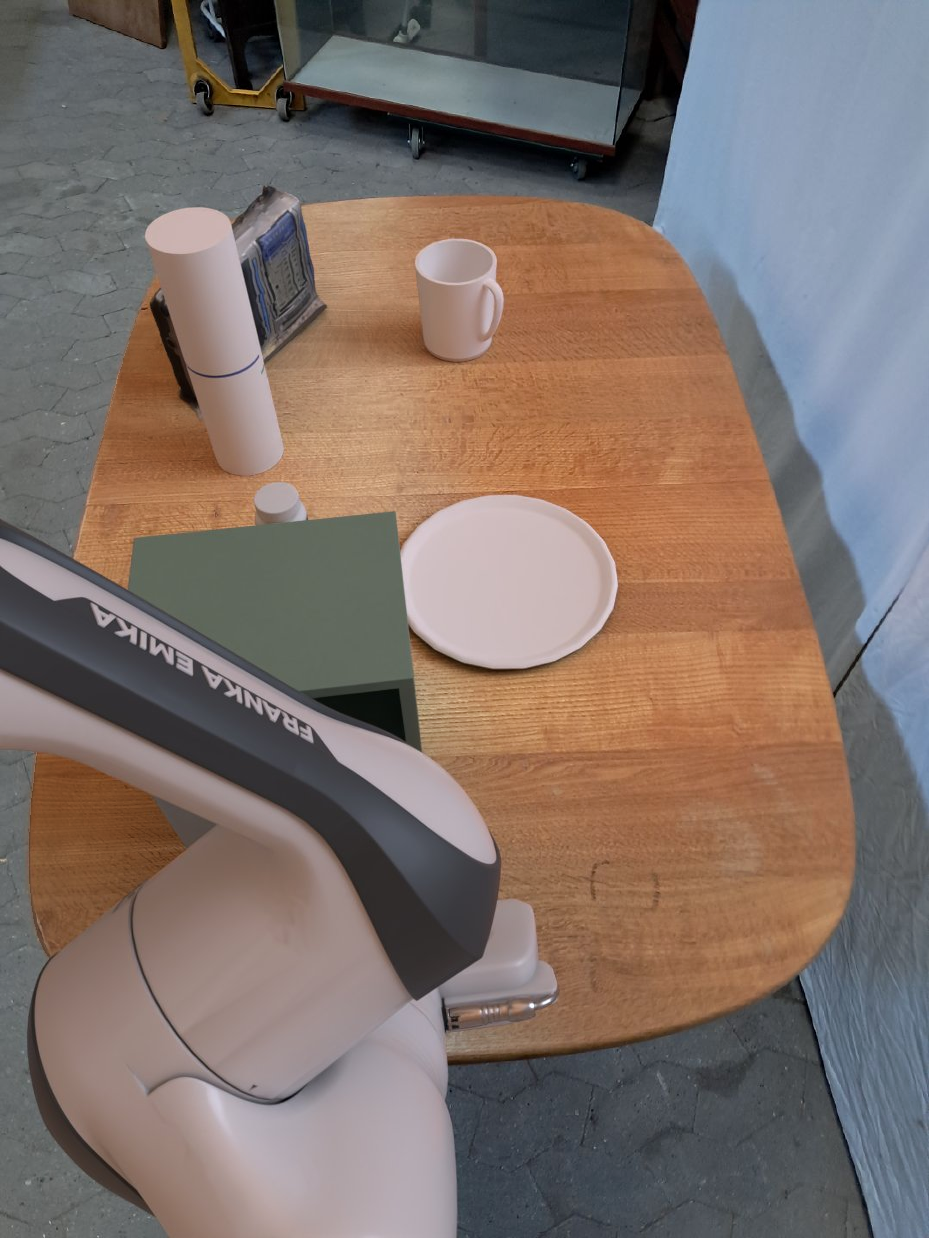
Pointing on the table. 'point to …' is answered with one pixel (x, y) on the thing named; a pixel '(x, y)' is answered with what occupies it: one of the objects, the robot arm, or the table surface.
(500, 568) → the plate
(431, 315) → the mug
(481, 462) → the table surface
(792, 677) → the table surface
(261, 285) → the radio
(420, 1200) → the robot arm
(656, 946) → the table surface
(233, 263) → the cylindrical container
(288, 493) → the pill bottle
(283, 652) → the cupboard
